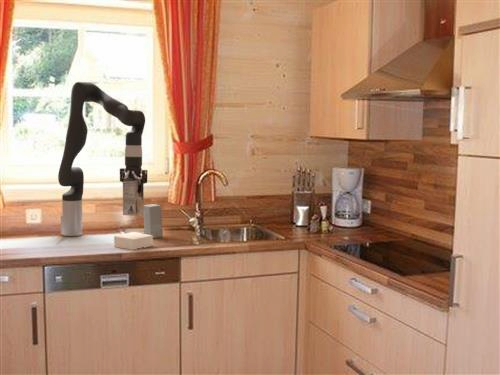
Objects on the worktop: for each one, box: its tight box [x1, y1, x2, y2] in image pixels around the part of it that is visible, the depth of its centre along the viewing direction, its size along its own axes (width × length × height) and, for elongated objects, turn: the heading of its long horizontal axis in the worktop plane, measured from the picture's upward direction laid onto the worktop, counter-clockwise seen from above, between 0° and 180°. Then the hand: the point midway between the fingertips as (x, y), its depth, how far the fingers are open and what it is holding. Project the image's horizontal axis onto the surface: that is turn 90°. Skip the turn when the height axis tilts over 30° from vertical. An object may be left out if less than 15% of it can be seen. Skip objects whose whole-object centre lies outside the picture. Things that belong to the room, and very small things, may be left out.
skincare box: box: [142, 203, 164, 239], centre depth 283 cm, size 8×7×16 cm
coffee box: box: [122, 178, 145, 217], centre depth 259 cm, size 9×6×16 cm
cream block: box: [113, 231, 154, 251], centre depth 261 cm, size 12×12×5 cm
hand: (133, 192), depth 259 cm, fingers closed on coffee box, 7 cm apart
